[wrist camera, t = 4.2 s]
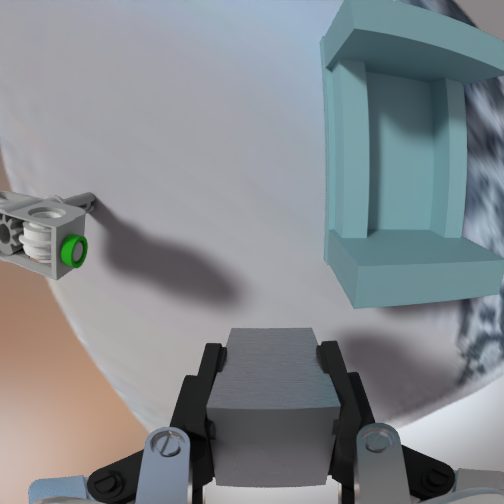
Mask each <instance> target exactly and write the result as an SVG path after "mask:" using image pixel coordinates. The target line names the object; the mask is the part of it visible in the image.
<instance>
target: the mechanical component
mask: <svg viewBox="0 0 504 504" xmlns="http://www.w3.org/2000/svg"><path fill="white" fill-rule="evenodd" d="M94 200H95V196H94V195H93V194H92V193H84V194H81V195H77V196H73V197H70V198H67V199H62V198H61V197H59V196H57V195H50V196H48V197H46V198H45V199H41V198H36V197H32V196H28V195H23V194H19V193H15V192H10V191H0V260H1V261H3V262H11V263H14V264H16V265H19V266H21V267H23V268H26V269H28V270H31V271H34V272H36V273H38V274H41V275H44V276H46V277H49V278H51V279H54V280H58V279H59V278H61V277H62V276H64V275H65V274H67V273H68V272H69V271H71V270H72V269H74V268H79V267H80V266H81V265H82V264H83V262H84V260H85V258H86V254H87V248H88V244H87V240H86V238H85V237H84V228H85V214H86V213H89V212H91V211H93V210H94V206H92V205H90V204H91V202H92V201H94ZM30 257H33V258H35V259H39V260H51V263H38V262H35V261H32V260H31V259H30Z"/></svg>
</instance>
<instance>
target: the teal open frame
mask: <svg viewBox="0 0 504 504" xmlns="http://www.w3.org/2000/svg"><path fill="white" fill-rule="evenodd" d="M320 49H321V61H322V75H323V91H324V111H325V142H326V218H325V249H324V260H325V262H326V263H327V265H330V266H331V268H332V270H333V271H334V273H335V275H336V277H337V279H338V280H339V282H340V284H341V286H342V288H343V289H344V291H345V293H346V295H347V297H348V299H349V300H350V302H351V304H352V306H353V308H354V309H358V308H373V307H387V306H400V305H411V304H422V303H432V302H442V301H451V300H459V299H467V298H475V297H483V296H490V295H497V294H499V290H500V286H501V282H502V278H503V273H504V258H502V257H500V256H498V255H497V254H495V253H493V252H491V251H489V250H487V249H486V248H484V247H482V246H480V245H478V244H476V243H474V242H472V241H471V240H469V239H467V238H465V237H463V236H461V235H462V227H463V218H464V208H465V196H466V178H467V128H466V110H465V98H464V88H463V85H465V84H469V83H473V82H477V81H481V80H485V79H489V78H494V77H498V76H503V75H504V41H502V40H500V39H498V38H496V37H494V36H492V35H490V34H488V33H486V32H484V31H482V30H479V29H477V28H475V27H472V26H470V25H468V24H465V23H463V22H460V21H458V20H455V19H452V18H450V17H447V16H444V15H441V14H438V13H435V12H432V11H429V10H426V9H423V8H419V7H416V6H412V5H409V4H405V3H401V2H397V1H393V0H344V2H343V3H342V5H341V7H340V9H339V11H338V13H337V15H336V16H335V18H334V20H333V22H332V24H331V26H330V28H329V30H328V32H327V33H326V35H325V36H323V37H322V39H321V41H320Z"/></svg>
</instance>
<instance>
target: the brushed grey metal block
mask: <svg viewBox="0 0 504 504" xmlns="http://www.w3.org/2000/svg"><path fill="white" fill-rule="evenodd" d="M317 345H318V343H317V340H316V338H315V335H314V332H313V330H312V328H269V329H254V328H232V329H231V332H230V335H229V338H228V341H227V345H226V347H227V355H226V358H225V362H224V365H223V369H222V372H221V373H220V372H217V375H216V378H215V382H214V385H213V388H212V391H211V394H210V397H209V400H208V403H207V406H206V410H207V419H208V421H213V425H214V433H215V440H210V443H211V451H212V458H213V465H214V472H215V478H216V485H220V486H234V487H301V486H316V485H325V484H326V480H327V475H328V471H329V466H330V462H331V457H332V452H333V447H334V442H335V437H336V435H331V434H332V427H333V421H334V420H335V419H339V415H340V408H341V405H340V402H339V399H338V397H337V394H336V391H335V388H334V386H333V383H332V380H331V377H330V375H329V374H324V372H323V369H322V366H321V364H320V361H319V358H318V355H317V352H316V347H317Z"/></svg>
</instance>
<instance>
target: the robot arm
mask: <svg viewBox="0 0 504 504" xmlns="http://www.w3.org/2000/svg"><path fill="white" fill-rule="evenodd" d="M316 352H317V355H318V358H319V361H320V364H321V366H322V369H323V372H324V374H329V375H330V377H331V380H332V383H333V386H334V388H335V391H336V394H337V397H338V399H339V402H340V405H341V408H340V415H339V419H335V420H334V421H333V427H332V434H331V435H336V437H335V442H334V447H333V452H332V457H331V462H330V466H329V471H328V475H332V479H334V480H336V481H337V482H339V484H338V486H339V487H338V488H339V489H338V504H504V472H501V471H486V470H473V469H462V468H459V469H458V470H457V471H455V470H453V469H452V468H451V467H450V466H449V465H447V464H446V463H444V462H441V461H438V460H436V459H433V458H431V457H429V456H426V455H424V454H422V453H419V452H417V451H415V450H412V449H410V448H408V447H406V446H404V445H401V442H400V437H399V435H398V432H397V431H396V430H395V429H394V428H393V427H391V426H390V425H387V424H384V423H375V420H374V417H373V414H372V411H371V408H370V405H369V402H368V399H367V396H366V393H365V390H364V387H363V385H362V382H361V379H360V376H359V374H358V373H357V372H351V373H347V370H346V367H345V364H344V361H343V358H342V355H341V352H340V349H339V346H338V343H337V341H322V343H321V345H317V347H316ZM226 355H227V347H222V345H221V343H207V344H206V346H205V350H204V353H203V357H202V361H201V364H200V368H199V372H198V375H197V376H193V375H186V376H185V378H184V381H183V384H182V387H181V390H180V394H179V397H178V400H177V403H176V406H175V410H174V413H173V416H172V419H171V423H170V426H169V427H163V428H160V429H157V430H155V431H153V432H152V433H151V434H150V435H149V436H148V437H147V440H146V442H145V447H144V449H143V450H141V451H139V452H137V453H135V454H132V455H130V456H128V457H126V458H124V459H121V460H119V461H117V462H115V463H112V464H110V465H108V466H105V467H103V468H100V469H98V470H96V471H95V472H93V473H92V474H91V475H90V476H89V477H84V476H83V475H81V476H71V477H61V478H49V479H39V480H35V481H34V482H33V483H32V484H31V485H30V487H29V492H28V494H29V504H205V485H206V484H208V483H209V482H211V481H212V480H213V477H215V472H214V465H213V458H212V451H211V443H210V440H215V433H214V425H213V421H208V419H207V410H206V406H207V403H208V400H209V397H210V394H211V391H212V388H213V385H214V382H215V378H216V375H217V372H220V373H221V372H222V369H223V365H224V362H225V358H226Z"/></svg>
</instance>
